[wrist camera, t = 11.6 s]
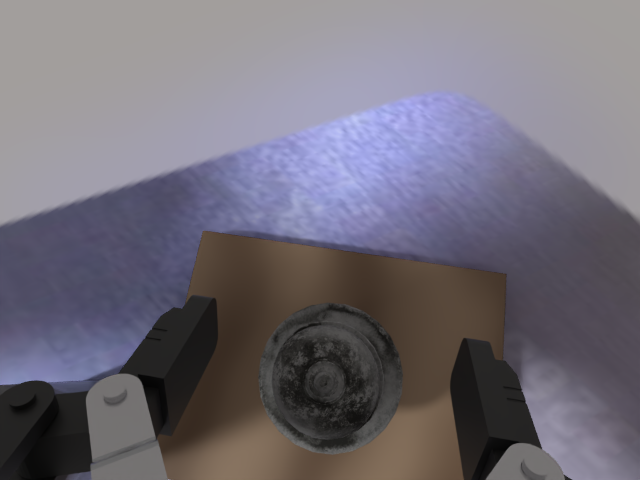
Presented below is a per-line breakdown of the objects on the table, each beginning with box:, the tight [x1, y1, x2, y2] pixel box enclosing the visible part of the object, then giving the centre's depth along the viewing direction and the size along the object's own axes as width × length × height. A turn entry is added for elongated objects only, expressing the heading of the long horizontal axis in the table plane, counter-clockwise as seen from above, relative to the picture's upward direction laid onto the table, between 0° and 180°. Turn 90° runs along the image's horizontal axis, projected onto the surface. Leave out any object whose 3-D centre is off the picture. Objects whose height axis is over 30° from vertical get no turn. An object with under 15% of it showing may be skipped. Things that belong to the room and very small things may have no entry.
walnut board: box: [157, 231, 506, 480], centre depth 22 cm, size 16×12×2 cm
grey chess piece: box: [258, 303, 403, 455], centre depth 15 cm, size 6×6×12 cm
